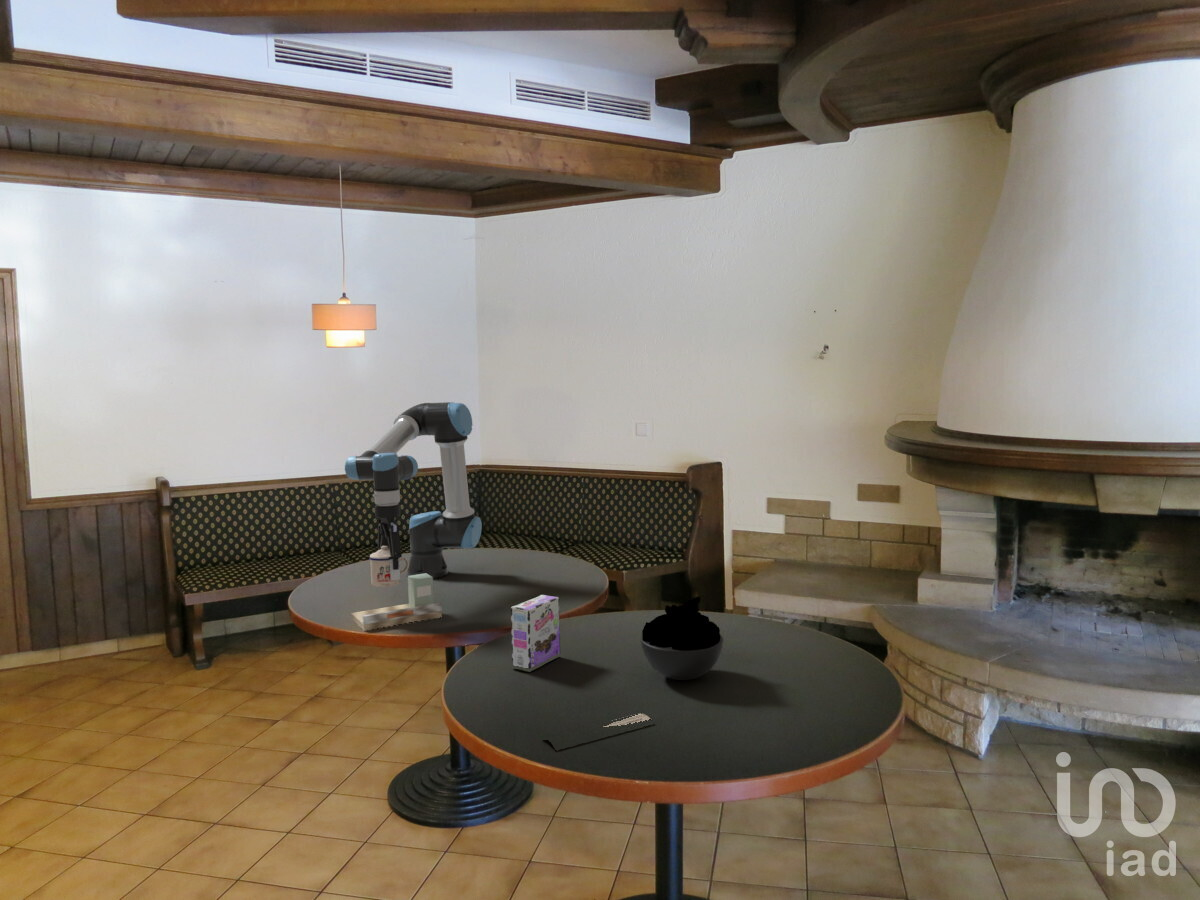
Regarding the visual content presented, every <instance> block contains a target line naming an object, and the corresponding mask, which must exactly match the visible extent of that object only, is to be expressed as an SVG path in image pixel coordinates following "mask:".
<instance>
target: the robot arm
mask: <svg viewBox="0 0 1200 900" xmlns="http://www.w3.org/2000/svg"><path fill="white" fill-rule="evenodd" d="M472 431H473V418H472V414H471V411H470V409H469V407H468V406H467V405H466V404H464V403H462V402H454V401H450V402H423V403H419V404H416V405H413V406H412V407H409V408H408V409H406V410H405V411H403V412H401V414H399V415H398V416H397V417H396V418H395V419H394V421H393V425H391V427H389V428H388V429H387V430H386V431H385V432H384V433H383V434H382V435H381V436H380V437H379V438H378V439H376V440H375V442H374V443H372V444H371V445H370V446H369V447H368V448H366V450H365V451H363V453H362V454H361V455H359V456H358V455H354V456H353V455H352V456H349V457H347V459H346V460H345V464H344V472H345V475H346V477H347V478H348V479H350V480H357V481H373V494H372V497H373V498H374V499H373V500H374V504H375V506H374V516H375V518H377V551H378V550H380V549H381V547H382V546H387V547H388V549H389V551H390V556H391V557H389V558H388V559H389V560H390V578H391V581H392V580H399V579H400V580H401V574H400V571H401V569H400V568H401V567H400V565H401V564H400V565H399V562H400V561H399V558H403V557H402V556H403V555H402V548H401V546H402V545H401V538H400V525H399V524H397V522H396V518H398V517H400V516H401V505H400V502H401V492H400V491H401V490H400V482H403V481H407V480H410V479H411V478H414V476H415V475H417V473H418V470H419V464H418V461H417V459H415V458H414V456H411V455H406V454H405V455H400V456H399V455H398V454H397V453H398V452H399V451H400V450H401V449H402V448H403V447H404V446H406V444H407V443H408V442H409V441H413V440H415V439H416V438H417V437H420V436H421V437H422V436H434V437H433V438H434V443H435V444H437V445H438V446H439V450H440V451H439V453H440V454H439V455H440V462H441V471H442V480H443V481H442V482H443V492H444V501H445V509H444V511H443V512H441V511H439V510H436V511H435V510H434V511H428V512H423V513H418V514H415V515H412V516H411V517H410V518H409V525H408V526H409V527H408V530H409V545H410V557H409V559H408V561H409V567H408V569H407V571H406V577H407V576H411V575H417V574H424V573H427V574H428V575H430V576H432V577H433V579H438V577H439V578H441V577H445V576H448V574H449V567H448V564H447V562H446V561H447V560H446V558H445V555H444V552H443V548H444V549H445V548H447V549H462V550H464V549H473V548H475V547H476V546H477V545H478V543H479V541H480V539H481V535H482V529H483V528H482V527H483V526H482V524H483V523H482V520H481V517H479V516H476V515H475V509H474V508H473V507H471V505H470V504H471V503H470V495H469V487H468V486H469V485H468V475H467V465H466V453H465V451H466V450H465V445H464V444H465V443H466V441H467V440H468V436H469V435H471V433H472ZM444 575H445V576H444Z"/></svg>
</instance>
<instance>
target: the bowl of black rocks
mask: <svg viewBox="0 0 1200 900" xmlns="http://www.w3.org/2000/svg"><path fill="white" fill-rule="evenodd" d="M700 602H701V597H700V596H696V597H693V598H691V599H689V600H688V601H685V602H683V604H682V605H678V606H677V605H676V604H672V605H671V606H670V605H665V608H664V614H661V615H658V616H656V617H655V618H653V619H652V620H650V621H649V622H646V623H645V624H644V626H643V629H642V630H641V631H642V632H641V633H642V634H641V636H640V643H641V649H642V651H643V654H644V655H643V656H644V657H645V658H646V661H648V663H649V665H651V667H652V668H653V669H654V670H655V671H657V672H658V673H659V674H661V675H662V676H664V677H666V678H669V679H672V680H676V681H690V680H694V679H697V678H699V677H702V676H703V675H705V674H706V673H708V672H709V671H710V670H711V669H712V668H714V666H715V665H716V664H717V662H718V660H719V658H720V656H721V653H722V650H723V646H724V636H723V635H722V634H721V629H720V626H718V625H717V624H716V623H715V622H713V621H711V620H710V618H709V616H707V615H704V614H702V613H701V612H700V610H699V609H700V608H699V603H700Z"/></svg>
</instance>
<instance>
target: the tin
mask: <svg viewBox="0 0 1200 900" xmlns="http://www.w3.org/2000/svg"><path fill="white" fill-rule="evenodd" d="M407 591H408V593H407V594H408V595H407V596H408V604H409V608H411V607H417V606H423V605H429V604H435V601H434V578H433V577H432V576H430V575H428V574H427V573H424V574H417V575H411V576H408V577H407Z"/></svg>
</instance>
